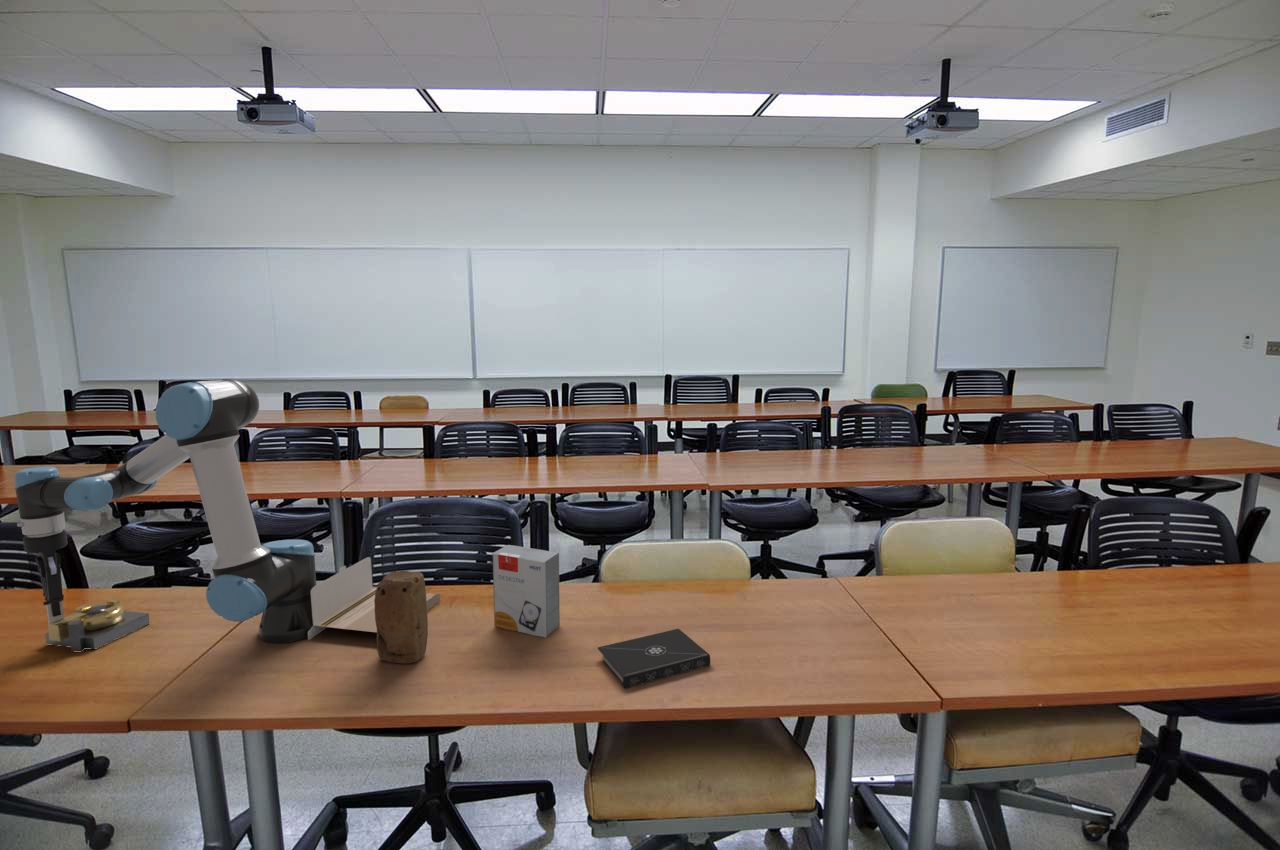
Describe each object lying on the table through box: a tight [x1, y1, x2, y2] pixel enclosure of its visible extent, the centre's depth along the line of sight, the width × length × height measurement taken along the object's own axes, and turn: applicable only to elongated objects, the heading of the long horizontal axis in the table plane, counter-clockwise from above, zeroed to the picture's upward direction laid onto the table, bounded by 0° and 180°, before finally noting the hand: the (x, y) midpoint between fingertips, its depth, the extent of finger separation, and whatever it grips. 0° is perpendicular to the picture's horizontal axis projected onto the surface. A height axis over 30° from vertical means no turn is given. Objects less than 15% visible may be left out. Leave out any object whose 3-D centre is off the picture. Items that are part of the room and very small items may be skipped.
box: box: [307, 556, 441, 641], centre depth 166 cm, size 35×20×14 cm, turn 167°
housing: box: [44, 610, 150, 652], centre depth 157 cm, size 14×16×7 cm
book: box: [597, 628, 711, 689], centre depth 145 cm, size 22×15×3 cm
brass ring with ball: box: [47, 599, 125, 641], centre depth 155 cm, size 15×10×4 cm, turn 169°
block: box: [374, 570, 429, 664], centre depth 146 cm, size 11×8×20 cm
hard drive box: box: [492, 544, 561, 638], centre depth 161 cm, size 16×8×20 cm, turn 68°
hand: (57, 627), depth 153 cm, fingers closed
